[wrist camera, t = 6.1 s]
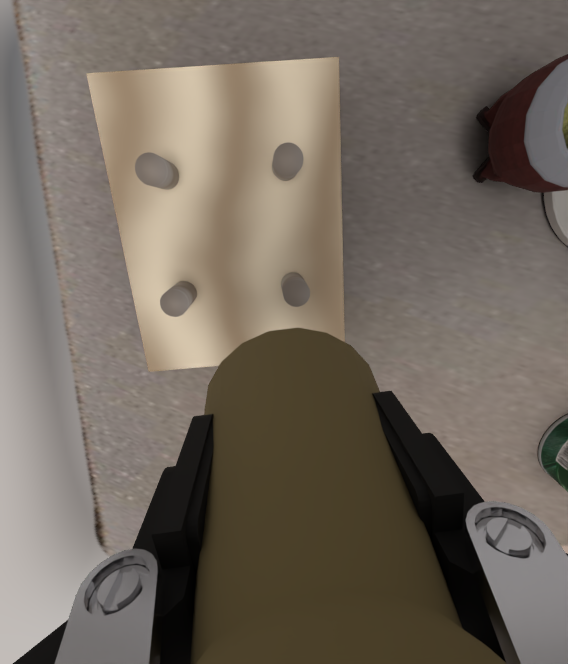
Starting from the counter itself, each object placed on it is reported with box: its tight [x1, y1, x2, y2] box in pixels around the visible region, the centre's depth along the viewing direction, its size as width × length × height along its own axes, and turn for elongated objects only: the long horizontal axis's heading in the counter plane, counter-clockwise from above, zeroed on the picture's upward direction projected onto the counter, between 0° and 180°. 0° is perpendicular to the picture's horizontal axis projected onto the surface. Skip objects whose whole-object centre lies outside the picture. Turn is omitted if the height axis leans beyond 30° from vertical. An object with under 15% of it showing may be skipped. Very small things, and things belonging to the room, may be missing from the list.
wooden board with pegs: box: [86, 57, 345, 372], centre depth 23 cm, size 14×18×7 cm
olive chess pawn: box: [191, 328, 507, 664], centre depth 7 cm, size 6×6×11 cm
